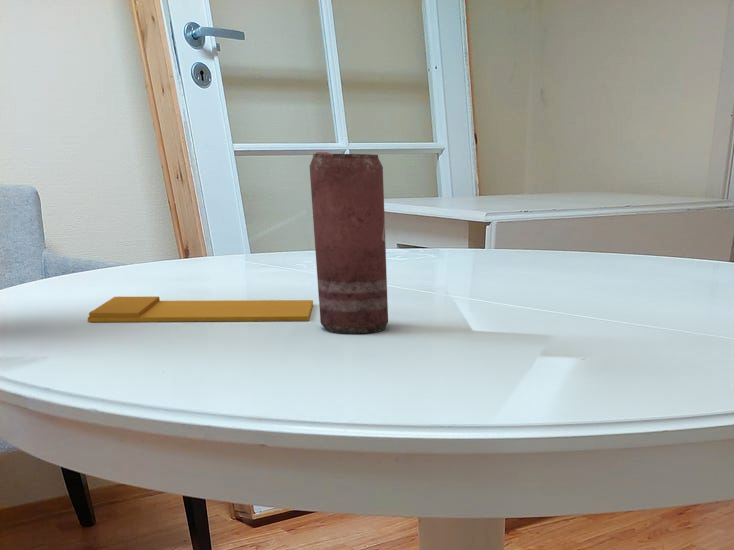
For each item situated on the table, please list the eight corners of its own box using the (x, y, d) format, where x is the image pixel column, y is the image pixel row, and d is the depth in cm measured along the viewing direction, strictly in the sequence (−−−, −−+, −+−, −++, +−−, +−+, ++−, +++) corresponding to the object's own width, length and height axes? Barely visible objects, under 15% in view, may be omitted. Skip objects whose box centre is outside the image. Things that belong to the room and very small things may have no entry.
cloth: (87, 322, 81) (86, 312, 81) (113, 304, 90) (112, 296, 90) (308, 320, 84) (307, 311, 83) (313, 304, 92) (312, 296, 92)
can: (331, 320, 84) (320, 151, 77) (396, 324, 83) (391, 153, 76) (308, 332, 79) (294, 151, 72) (376, 335, 77) (369, 153, 71)
